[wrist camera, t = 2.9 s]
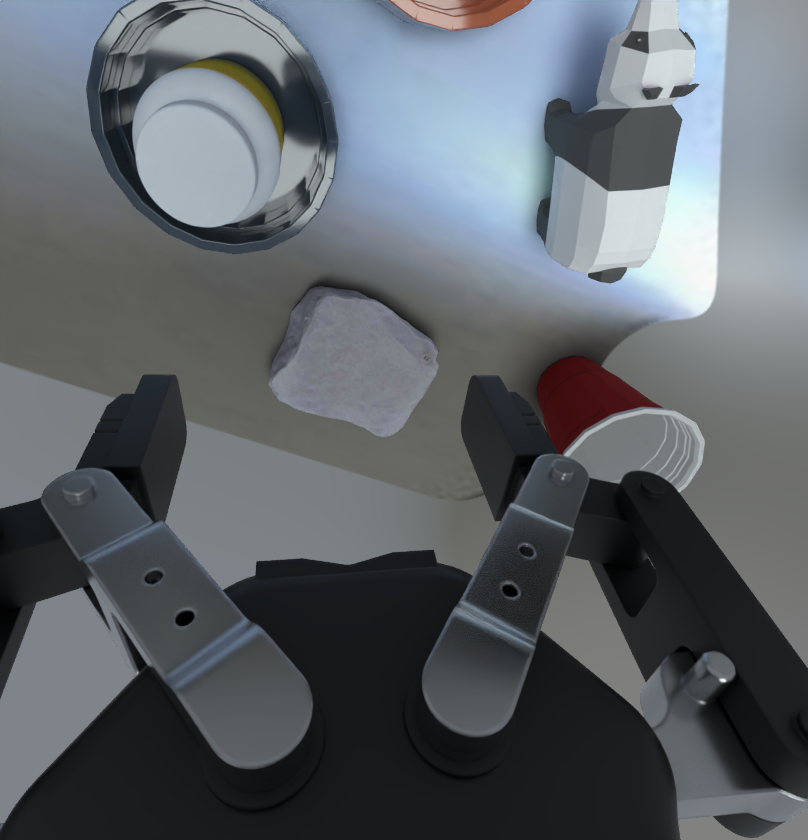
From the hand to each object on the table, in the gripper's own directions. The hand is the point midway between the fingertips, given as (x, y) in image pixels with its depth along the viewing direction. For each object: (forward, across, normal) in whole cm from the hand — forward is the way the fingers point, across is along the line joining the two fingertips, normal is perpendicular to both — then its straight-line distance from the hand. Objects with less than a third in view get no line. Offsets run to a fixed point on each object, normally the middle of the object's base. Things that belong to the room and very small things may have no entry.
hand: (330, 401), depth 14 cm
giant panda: (+24, -17, -4) cm, 30 cm away
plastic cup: (+24, -22, +15) cm, 36 cm away
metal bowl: (+24, +5, -3) cm, 25 cm away
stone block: (+24, -4, +12) cm, 27 cm away
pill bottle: (+24, +5, -3) cm, 25 cm away
